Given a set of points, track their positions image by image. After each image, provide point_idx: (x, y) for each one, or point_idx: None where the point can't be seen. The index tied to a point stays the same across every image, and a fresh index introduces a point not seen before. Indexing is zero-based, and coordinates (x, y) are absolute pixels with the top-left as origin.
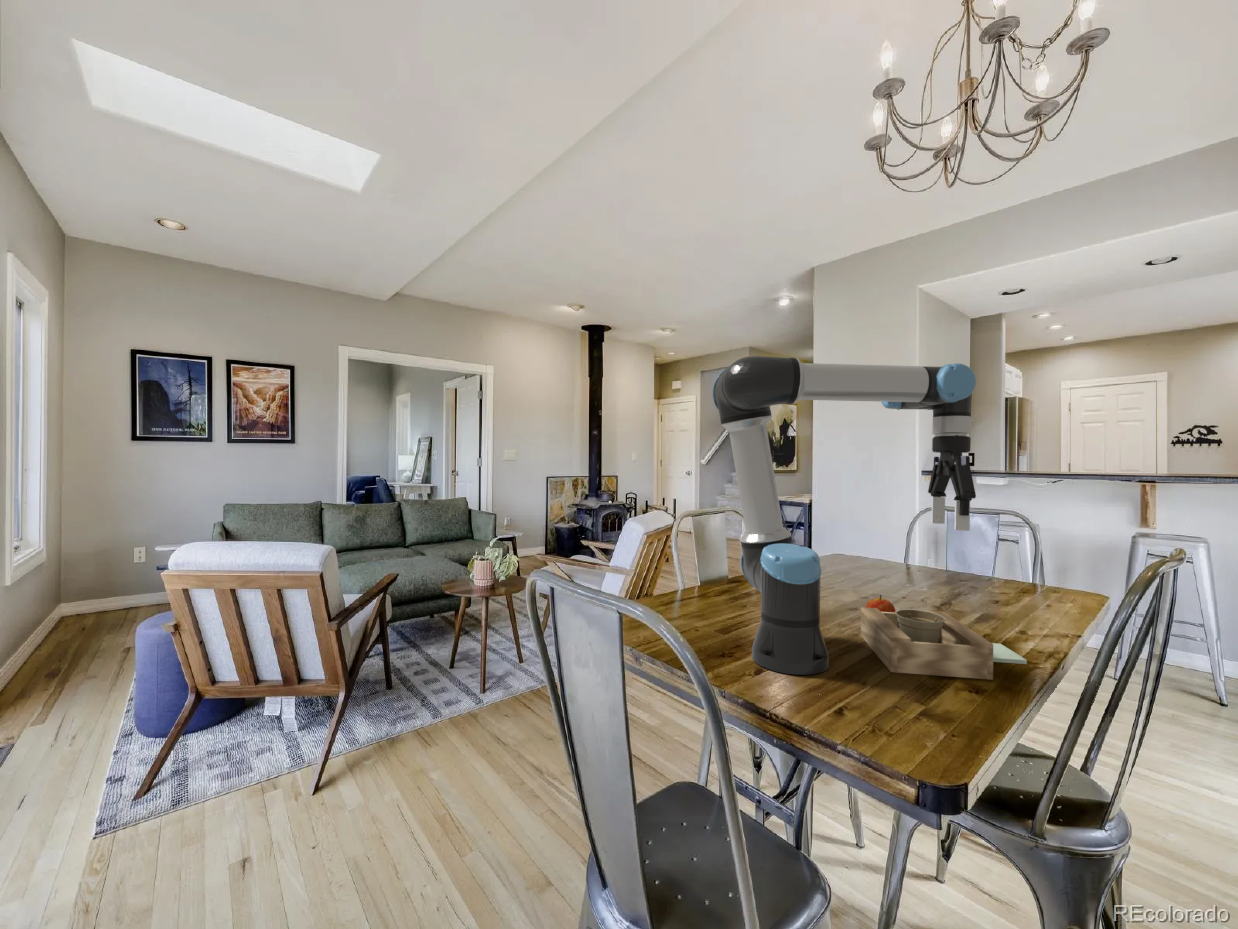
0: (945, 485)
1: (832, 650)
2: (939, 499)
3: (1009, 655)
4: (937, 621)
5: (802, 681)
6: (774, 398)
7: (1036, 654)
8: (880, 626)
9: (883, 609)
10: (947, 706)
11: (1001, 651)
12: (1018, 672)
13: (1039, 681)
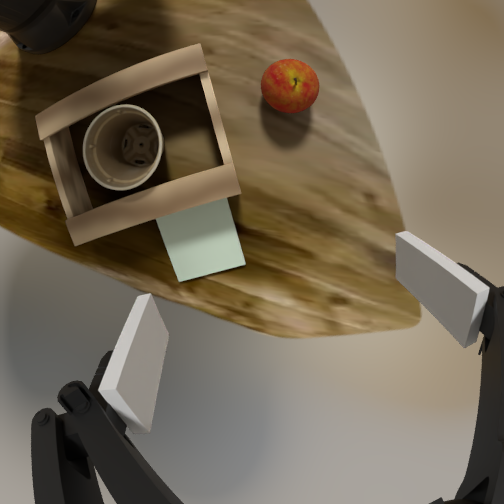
0: (480, 403)
1: (110, 35)
2: (463, 317)
3: (189, 265)
4: (144, 176)
5: (10, 48)
6: None
7: (234, 298)
8: (79, 90)
9: (265, 86)
10: (7, 180)
11: (203, 258)
12: (140, 263)
13: (121, 278)
